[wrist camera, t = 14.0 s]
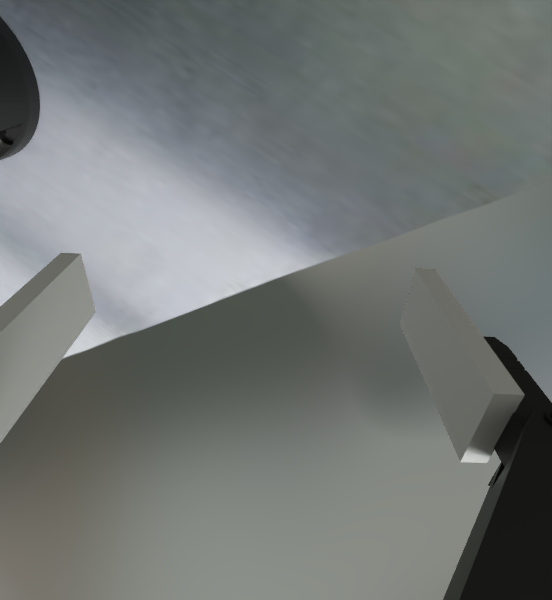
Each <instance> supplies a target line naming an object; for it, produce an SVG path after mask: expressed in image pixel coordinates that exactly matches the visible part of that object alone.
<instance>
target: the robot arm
mask: <svg viewBox="0 0 552 600" xmlns="http://www.w3.org/2000/svg"><path fill="white" fill-rule="evenodd" d="M39 110H40V101H39V92H38V87H37V82H36V79H35V75H34V73H33V70H32V67H31V65H30V62H29V60H28V58H27V56H26V54H25V52H24V50H23V48H22V47H21V45H20V43H19V42H18V40H17V39H16V37H15V36H14V34H13V33H12V32H11V30H10V29H9V28H8V27H7V25H6V24H5V23H4V22H3V21H2V20H1V19H0V160H2V159H4V158H7V157H10V156H12V155H14V154H16V153H18V152H19V151H20V150H22V149H23V148H24V147H25V146H26V145H27V144H28V143H29V141H30V140H31V138H32V136H33V135H34V132H35V130H36V127H37V124H38V119H39ZM95 312H96V311H95V307H94V303H93V299H92V295H91V291H90V288H89V284H88V280H87V276H86V272H85V268H84V264H83V260H82V257H81V254H75V253H60V254H59V255H58V256H57V257H56V258H55V259H54V260H53V261H51V262H50V263H49V264H48V265H47V266H46V267H45V268H44V269H42V270H41V271H40V272H39V273H38V274H37V275H36V276H35V277H33V278H32V279H31V280H30V281H29V282H28V283H27V284H26V285H24V286H23V287H22V288H21V289H20V290H19V291H18V292H17V293H15V294H14V295H13V296H12V297H11V298H10V299H9V300H8V301H6V302H5V303H4V304H3V305H2V306H1V307H0V443H1V441H2V440H3V439H4V437H5V436H6V434H7V433H8V432H9V430H10V429H11V428H12V426H13V425H14V424H15V422H16V421H17V419H18V418H19V417H20V415H21V414H22V413H23V411H24V410H25V408H26V407H27V406H28V404H29V403H30V402H31V400H32V399H33V397H34V396H35V395H36V393H37V392H38V391H39V389H40V388H41V386H42V385H43V384H44V382H45V381H46V380H47V378H48V377H49V375H50V374H51V373H52V371H53V370H54V368H55V367H56V366H57V364H58V363H59V362H60V360H61V359H62V358H63V356H64V355H65V354H66V352H67V351H68V349H69V348H70V347H71V345H72V344H73V343H74V341H75V340H76V338H77V337H78V336H79V334H80V333H81V332H82V330H83V329H84V328H85V326H86V325H87V323H88V322H89V321H90V319H91V318H92V317H93V315H94V314H95ZM400 325H401V328H402V330H403V332H404V335H405V337H406V339H407V341H408V344H409V346H410V348H411V350H412V353H413V355H414V357H415V359H416V362H417V364H418V366H419V369H420V371H421V373H422V376H423V378H424V380H425V382H426V385H427V387H428V389H429V391H430V394H431V396H432V398H433V401H434V403H435V405H436V407H437V410H438V412H439V414H440V416H441V419H442V421H443V423H444V426H445V428H446V430H447V432H448V435H449V437H450V439H451V441H452V444H453V446H454V448H455V451H456V453H457V455H458V457H459V460H460V462H477V463H487V462H488V460H489V458H490V457H491V455H492V453H493V451H494V449H495V451H496V452H497V454H498V456H499V458H500V460H501V464H500V465H499V467H498V469H497V470H496V472H495V474H494V476H493V477H492V479H491V481H490V482H489V484H488V485H489V486H490V488H489V490H488V493H487V495H486V498H485V500H484V502H483V505H482V507H481V510H480V512H479V514H478V517H477V519H476V522H475V524H474V526H473V529H472V531H471V534H470V536H469V538H468V541H467V543H466V546H465V548H464V550H463V553H462V555H461V558H460V560H459V562H458V565H457V568H456V570H455V572H454V575H453V577H452V579H451V582H450V584H449V587H448V589H447V591H446V594H445V596H444V599H443V600H552V403H551V401H550V400H549V399H548V398H547V396H546V395H545V394H544V393H543V391H542V390H541V389H540V387H539V386H538V385H537V383H536V382H535V381H534V380H533V378H532V377H531V376H530V374H529V373H528V372H527V371H525V370H524V367H523V366H522V364H521V363H520V362H519V361H517V358H516V356H515V355H514V354H513V353H512V351H511V350H510V349H509V348H508V347H507V346H506V345H505V344H503V343H502V342H500V341H499V340H498V339H496V338H495V337H483V336H482V335H481V333H480V332H479V330H478V329H477V328H476V326H475V325H474V323H473V322H472V321H471V319H470V318H469V316H468V315H467V314H466V312H465V311H464V309H463V308H462V307H461V305H460V304H459V302H458V301H457V300H456V298H455V297H454V296H453V294H452V293H451V292H450V290H449V288H448V287H447V286H446V284H445V283H444V281H443V280H442V279H441V277H440V276H439V275H438V273H437V272H436V270H435V269H422V268H421V269H420V268H415V271H414V275H413V278H412V282H411V286H410V290H409V293H408V297H407V301H406V305H405V308H404V312H403V316H402V320H401V323H400Z"/></svg>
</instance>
